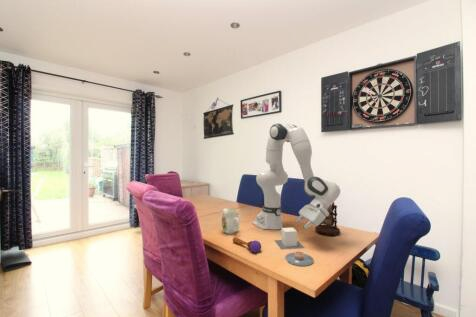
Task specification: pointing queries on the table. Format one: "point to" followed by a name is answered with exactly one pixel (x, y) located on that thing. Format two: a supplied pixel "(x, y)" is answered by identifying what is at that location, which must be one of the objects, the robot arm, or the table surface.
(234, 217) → the pitcher
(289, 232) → the cover
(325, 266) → the table surface
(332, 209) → the wooden spool stand
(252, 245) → the kendama
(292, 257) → the pot lid
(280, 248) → the mat
